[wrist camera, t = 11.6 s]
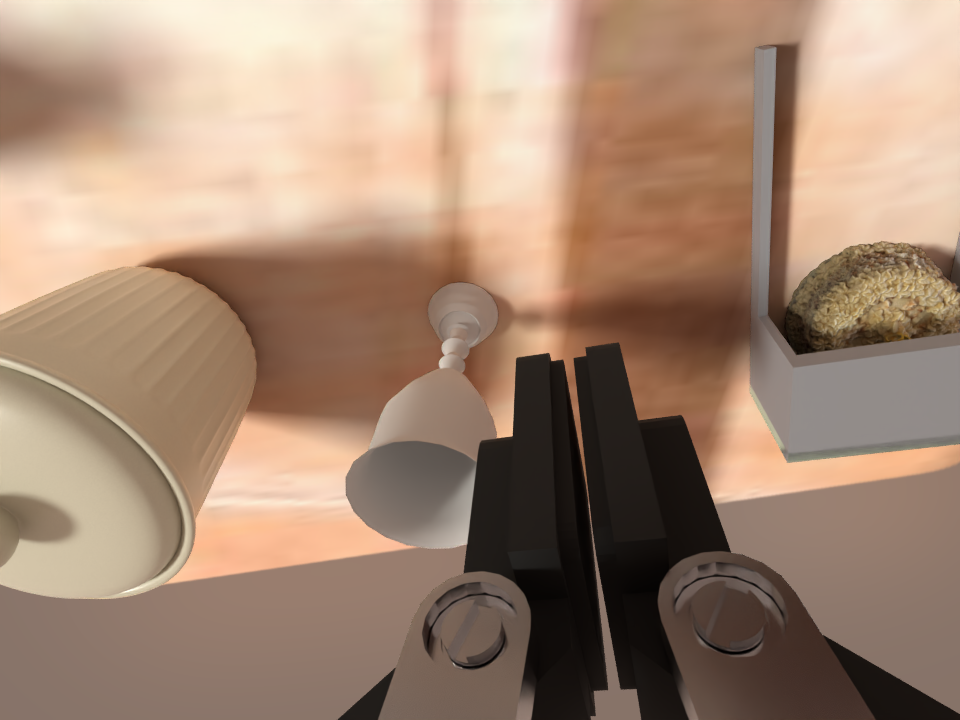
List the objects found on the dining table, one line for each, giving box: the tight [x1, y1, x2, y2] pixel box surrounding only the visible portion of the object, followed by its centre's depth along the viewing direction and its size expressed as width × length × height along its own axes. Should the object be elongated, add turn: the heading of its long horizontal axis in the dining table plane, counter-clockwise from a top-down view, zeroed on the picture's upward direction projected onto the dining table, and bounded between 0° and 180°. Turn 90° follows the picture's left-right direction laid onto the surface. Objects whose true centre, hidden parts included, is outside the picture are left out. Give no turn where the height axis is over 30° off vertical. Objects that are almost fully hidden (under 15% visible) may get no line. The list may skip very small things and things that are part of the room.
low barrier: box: [750, 45, 960, 463], centre depth 33 cm, size 23×13×8 cm, turn 13°
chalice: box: [346, 282, 498, 549], centre depth 34 cm, size 7×7×18 cm
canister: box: [0, 266, 257, 599], centre depth 36 cm, size 18×18×21 cm
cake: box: [785, 241, 960, 355], centre depth 37 cm, size 10×10×5 cm
